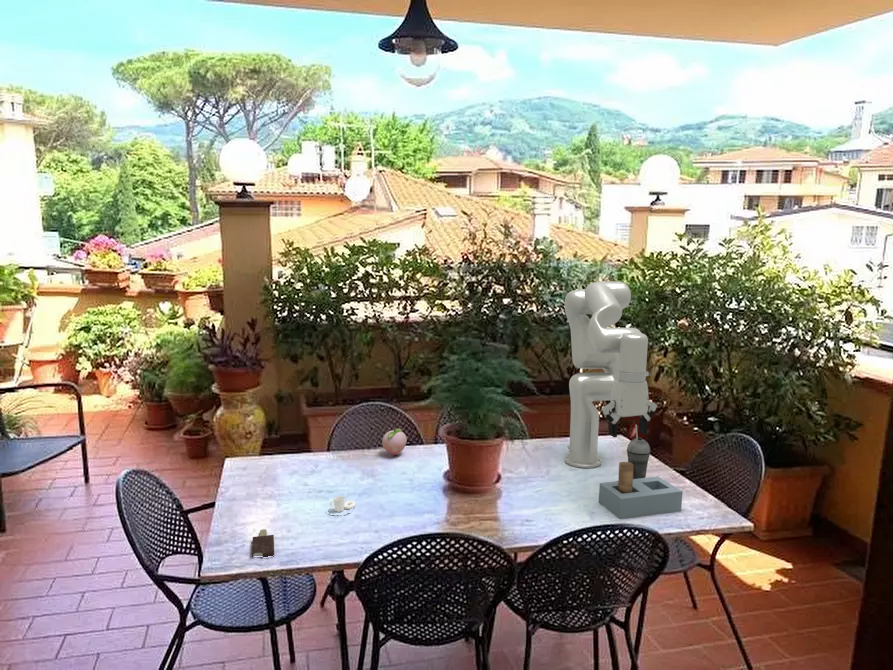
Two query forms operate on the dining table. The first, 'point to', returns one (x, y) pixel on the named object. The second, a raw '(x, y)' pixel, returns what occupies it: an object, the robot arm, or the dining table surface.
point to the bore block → (641, 498)
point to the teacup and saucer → (342, 504)
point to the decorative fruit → (394, 441)
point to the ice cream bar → (263, 544)
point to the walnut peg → (625, 477)
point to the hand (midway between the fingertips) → (628, 434)
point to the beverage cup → (638, 456)
